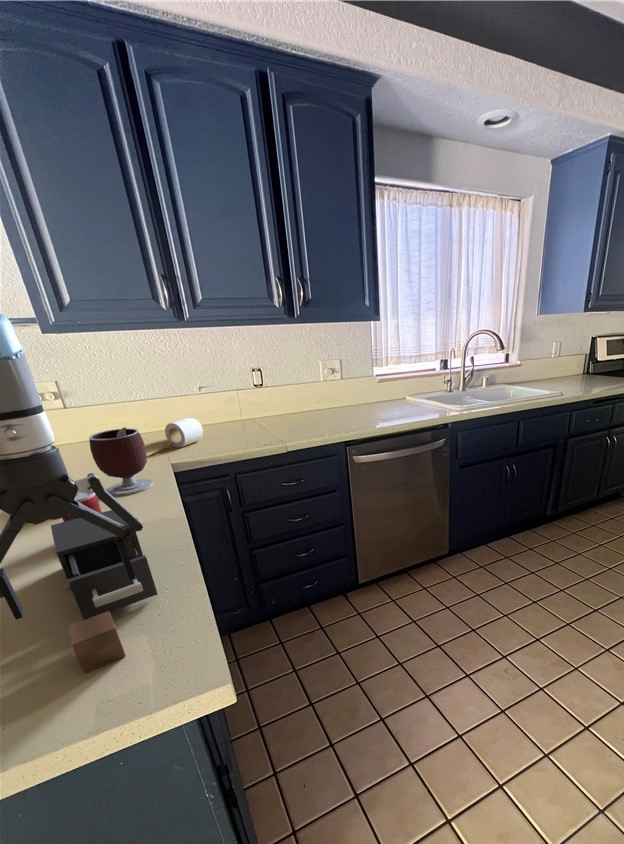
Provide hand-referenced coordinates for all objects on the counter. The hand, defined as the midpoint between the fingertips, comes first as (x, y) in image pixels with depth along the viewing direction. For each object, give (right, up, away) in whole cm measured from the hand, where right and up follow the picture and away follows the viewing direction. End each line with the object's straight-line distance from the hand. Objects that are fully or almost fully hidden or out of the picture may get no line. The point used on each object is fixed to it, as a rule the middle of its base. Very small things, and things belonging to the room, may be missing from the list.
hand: (78, 594), depth 61 cm
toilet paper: (-38, +40, +116) cm, 129 cm away
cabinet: (-14, 0, +28) cm, 31 cm away
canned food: (-27, +6, +42) cm, 50 cm away
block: (0, -10, +5) cm, 12 cm away
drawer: (-5, -4, +17) cm, 19 cm away
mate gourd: (-34, +19, +71) cm, 81 cm away
